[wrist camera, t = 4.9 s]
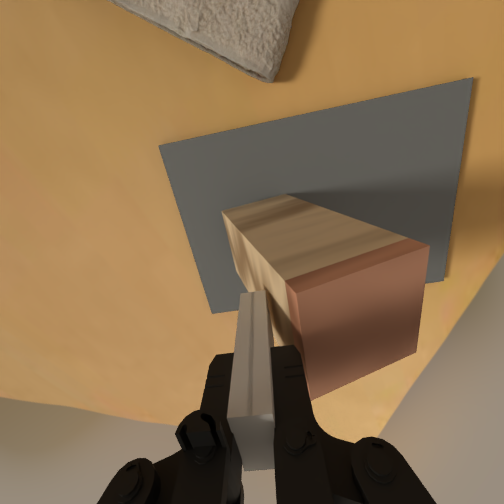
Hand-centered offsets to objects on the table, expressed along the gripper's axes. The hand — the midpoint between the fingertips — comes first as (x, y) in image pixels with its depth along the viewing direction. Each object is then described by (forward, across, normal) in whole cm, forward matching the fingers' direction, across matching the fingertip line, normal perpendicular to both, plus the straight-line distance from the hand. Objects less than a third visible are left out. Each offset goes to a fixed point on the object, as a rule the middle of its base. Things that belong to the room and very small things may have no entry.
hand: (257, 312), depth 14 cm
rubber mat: (+12, +6, +1) cm, 14 cm away
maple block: (+11, 0, +1) cm, 11 cm away
